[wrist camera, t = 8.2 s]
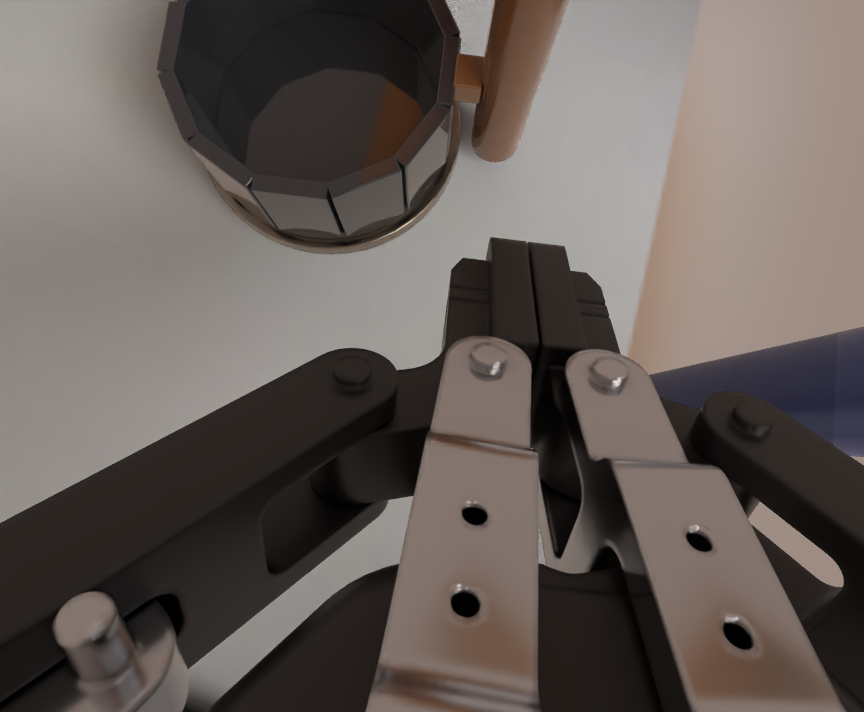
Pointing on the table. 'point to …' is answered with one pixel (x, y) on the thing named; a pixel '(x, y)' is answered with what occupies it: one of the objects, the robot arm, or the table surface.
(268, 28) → the wooden handled pot
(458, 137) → the round base
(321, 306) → the table surface
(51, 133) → the table surface
